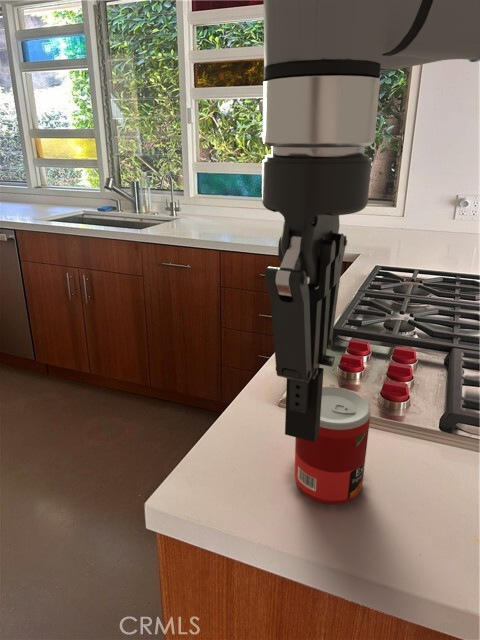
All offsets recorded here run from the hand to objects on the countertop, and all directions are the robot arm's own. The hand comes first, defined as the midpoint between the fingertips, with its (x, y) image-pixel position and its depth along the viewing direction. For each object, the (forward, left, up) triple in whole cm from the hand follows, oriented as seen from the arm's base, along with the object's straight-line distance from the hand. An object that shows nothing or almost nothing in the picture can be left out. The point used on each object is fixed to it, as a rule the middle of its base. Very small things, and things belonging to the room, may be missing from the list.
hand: (302, 433), depth 41 cm
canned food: (-4, -10, -14) cm, 18 cm away
